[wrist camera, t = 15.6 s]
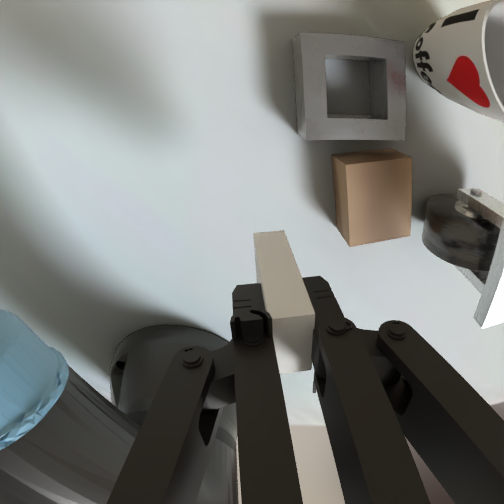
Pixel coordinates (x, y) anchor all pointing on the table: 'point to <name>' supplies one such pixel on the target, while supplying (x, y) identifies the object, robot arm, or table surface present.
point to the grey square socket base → (381, 87)
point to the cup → (466, 57)
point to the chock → (372, 195)
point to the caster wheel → (471, 244)
